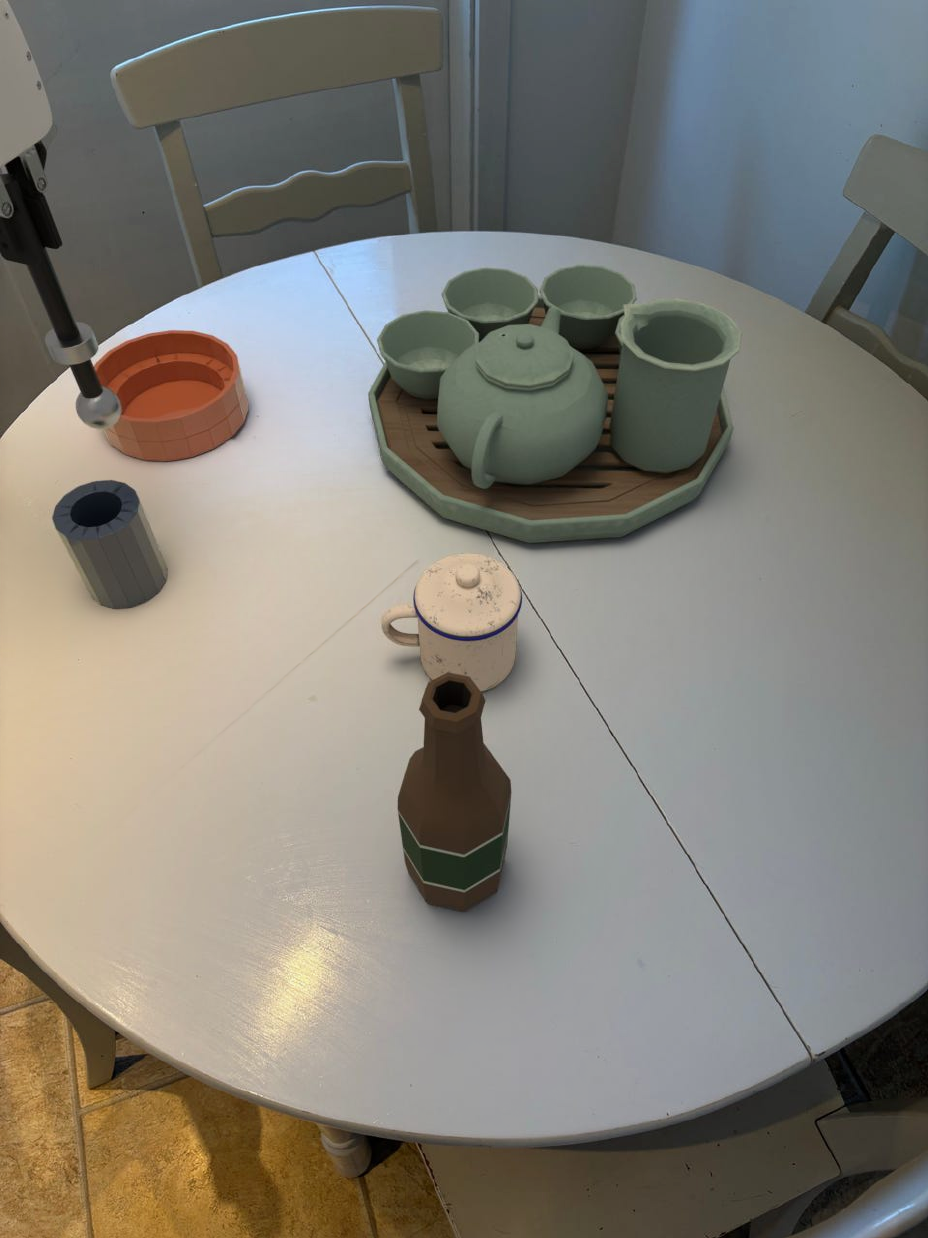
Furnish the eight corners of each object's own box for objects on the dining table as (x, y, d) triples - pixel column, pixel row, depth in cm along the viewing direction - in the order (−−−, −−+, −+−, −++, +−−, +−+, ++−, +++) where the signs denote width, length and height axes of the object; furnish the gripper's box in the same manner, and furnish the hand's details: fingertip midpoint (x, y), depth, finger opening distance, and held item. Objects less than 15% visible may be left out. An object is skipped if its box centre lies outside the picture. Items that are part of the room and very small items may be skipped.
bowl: (75, 423, 101) (56, 380, 96) (187, 356, 109) (174, 313, 104) (166, 486, 95) (151, 442, 90) (278, 410, 102) (269, 366, 98)
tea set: (696, 321, 113) (726, 192, 100) (749, 554, 88) (798, 423, 75) (385, 316, 114) (375, 188, 101) (351, 546, 89) (331, 415, 76)
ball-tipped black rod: (75, 426, 80) (-36, 180, 63) (111, 405, 82) (12, 161, 65) (100, 443, 79) (-6, 197, 61) (136, 422, 80) (41, 176, 63)
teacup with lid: (513, 614, 84) (518, 528, 75) (522, 695, 78) (529, 612, 69) (385, 620, 83) (375, 534, 74) (386, 702, 78) (374, 620, 69)
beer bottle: (446, 801, 72) (438, 618, 53) (526, 854, 69) (548, 681, 50) (385, 876, 68) (353, 708, 49) (468, 936, 65) (468, 782, 46)
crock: (75, 586, 86) (35, 513, 78) (136, 542, 90) (105, 468, 82) (122, 624, 83) (86, 552, 75) (184, 578, 87) (156, 504, 79)
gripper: (-45, -82, 58) (56, 196, 73) (-239, -1, 49) (-79, 298, 64) (50, -69, 57) (134, 212, 71) (-132, 16, 48) (7, 319, 62)
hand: (33, 251), depth 67 cm, fingers closed on ball-tipped black rod
